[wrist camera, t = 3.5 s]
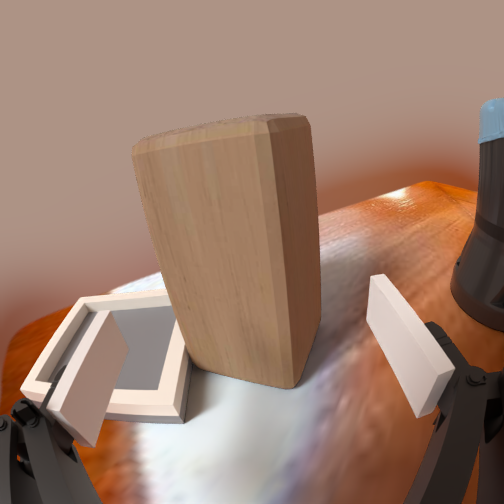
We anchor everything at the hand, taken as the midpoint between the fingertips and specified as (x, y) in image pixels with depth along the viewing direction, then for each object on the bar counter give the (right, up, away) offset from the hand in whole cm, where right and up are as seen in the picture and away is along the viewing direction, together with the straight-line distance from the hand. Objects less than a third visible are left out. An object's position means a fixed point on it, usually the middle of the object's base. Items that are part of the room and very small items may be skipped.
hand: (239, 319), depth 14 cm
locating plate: (-13, -8, +14) cm, 21 cm away
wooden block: (+1, -6, +13) cm, 15 cm away
